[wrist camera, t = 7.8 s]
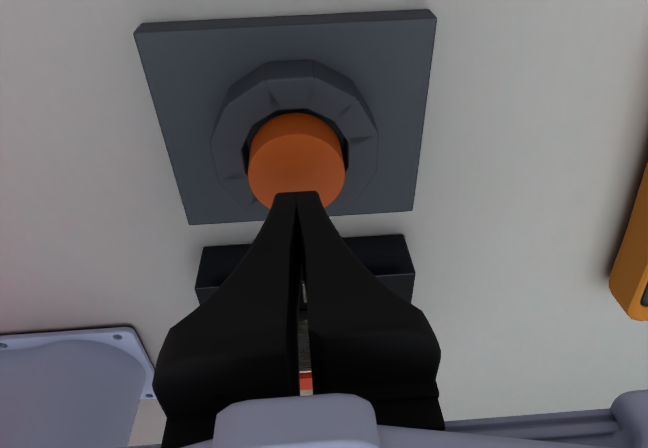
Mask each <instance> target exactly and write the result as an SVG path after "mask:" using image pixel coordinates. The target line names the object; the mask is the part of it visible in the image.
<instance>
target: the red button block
mask: <svg viewBox="0 0 648 448" xmlns="http://www.w3.org/2000/svg"><path fill="white" fill-rule="evenodd" d="M298 347H299V374H300V396H307V395H313V386H312V372H311V360H310V348H309V336H308V312H307V311H299V316H298Z"/></svg>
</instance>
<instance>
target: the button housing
mask: <svg viewBox="0 0 648 448" xmlns="http://www.w3.org/2000/svg"><path fill="white" fill-rule="evenodd" d="M436 23H437V17H436V16H435V15H434V14H433V13H432V12H431V11H430V10H428V9H424V10H404V11H383V12H363V13H342V14H322V15H302V16H281V17H261V18H240V19H220V20H199V21H179V22H159V23H142V24H140V26H139V27H138V28H137V29H136V30H135V31H134V33H133V35H134V38H135V41H136V45H137V48H138V52H139V55H140V59H141V62H142V65H143V69H144V72H145V76H146V79H147V82H148V86H149V89H150V93H151V96H152V100H153V103H154V106H155V110H156V113H157V117H158V120H159V124H160V127H161V130H162V134H163V137H164V141H165V144H166V148H167V151H168V154H169V158H170V161H171V165H172V168H173V172H174V175H175V178H176V182H177V185H178V189H179V192H180V196H181V199H182V202H183V206H184V209H185V213H186V216H187V219H188V223H189V225H200V224H216V223H232V222H247V221H263V220H266V218H267V216H268V213H269V211H270V209H269V208H268V207H266V206H265V205H263V204H262V203H261V202H260V201H259V200H258V199H257V198H256V196H255V195H254V194H253V192H252V190H251V188H250V185H249V181H248V166H249V158H250V150H251V144H252V141H253V138H254V136H255V134H256V132H257V131H258V130H259V128H260V127H261V126H262V125H263V124H264V123H266V122H267V121H269V120H270V119H272V118H274V117H276V116H279V115H282V114H286V113H305V114H309V115H312V116H315V117H317V118H319V119H321V120H323V121H324V122H325V123H327V124H328V125H329V126H330V127H331V128H332V129H333V131H334V132H335V133H336V135H337V137H338V140H339V142H340V147H341V152H342V157H343V162H344V168H345V180H344V185H343V187H342V190H341V191H340V193H339V195H338V196H337V197H336V199H335V200H334V201H333V202H332V203H330V204H329V205H328V206H327V207H325V208H324V209H325V211H326V213H327V215H328V217H329V216H341V215H357V214H372V213H388V212H403V211H412V210H413V204H414V196H415V188H416V180H417V172H418V165H419V157H420V149H421V141H422V133H423V125H424V117H425V109H426V102H427V94H428V86H429V78H430V70H431V62H432V54H433V46H434V39H435V31H436Z"/></svg>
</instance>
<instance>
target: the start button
mask: <svg viewBox="0 0 648 448" xmlns="http://www.w3.org/2000/svg"><path fill="white" fill-rule="evenodd" d="M344 180H345V168H344V162H343V157H342V152H341V147H340V142H339V140H338V137H337V135H336V133H335V132H334V131H333V129H332V128H331V127H330V126H329V125H328V124H327V123H325V122H324V121H323V120H321V119H319V118H317V117H315V116H312V115H309V114H305V113H286V114H282V115H279V116H276V117H274V118H272V119H270V120H269V121H267V122H266V123H264V124H263V125H262V126H261V127H260V128H259V130H258V131H257V132H256V134H255V136H254V138H253V141H252V144H251V150H250V158H249V166H248V181H249V185H250V188H251V190H252V192H253V194H254V195H255V196H256V198H257V199H258V200H259V201H260V202H261V203H262V204H263V205H265V206H266V207H268V208H269V209H271V206H272V203H273V200H274V197H275V195H276V194H277V193H283V192H299V191H317V192H318V193H319V196H320V199H321V202H322V205H323V207H324V208H325V207H327V206H328V205H329V204H330V203H332V202H333V201H334V200H335V199H336V197H337V196H338V195H339V193H340V191H341V190H342V187H343V185H344Z"/></svg>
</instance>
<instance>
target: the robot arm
mask: <svg viewBox="0 0 648 448" xmlns="http://www.w3.org/2000/svg"><path fill="white" fill-rule="evenodd" d="M301 269H302V270H303V276H304V283H305V289H306V296H307V312H308V336H309V348H310V360H311V372H312V386H313V395H307V396H300V374H299V347H298V316H299V301H300V285H301ZM440 359H441V350H440V347H439V343H438V341H437V338H436V336H435V334H434V332H433V330H432V328H431V326H430V324H429V322H428V320H427V319H426V317H425V315H424V314H423V312H422V311H421V310H420V309H418V308H417V307H415V306H413V305H412V304H410V303H409V302H407V301H406V300H404V299H403V298H401V297H400V296H398V295H397V294H396V293H394V292H393V291H392V290H391V289H389V288H388V287H387V286H386V285H385V284H384V283H382V282H381V281H380V280H379V279H378V278H377V277H376V276H375V275H373V274H372V273H371V272H370V271H369V270H368V269H367V268H366V267H365V266H364V265H363V264H362V262H361V261H360V260H359V259H358V258H357V257H356V256H355V255H354V253H353V252H352V251H351V250H350V248H349V247H348V246H347V244H346V243H345V242H344V240H343V239H342V238H341V236H340V235H339V233H338V232H337V230H336V228H335V227H334V225H333V224H332V222H331V220H330V218H329V217H328V215H327V213H326V211H325V209H324V207H323V205H322V202H321V199H320V196H319V193H318V192H317V191H299V192H283V193H277V194H276V195H275V197H274V200H273V203H272V206H271V209H270V211H269V213H268V216H267V218H266V220H265V222H264V224H263V226H262V228H261V230H260V232H259V233H258V235H257V237H256V239H255V240H254V242H253V243H252V245H251V247H250V248H249V250H248V251H247V253H246V254H245V256H244V257H243V259H242V260H241V261H240V263H239V264H238V265H237V267H236V268H235V269H234V271H233V272H232V273H231V274H230V275H229V276H228V278H227V279H226V280H225V281H224V282H223V283H222V284H221V286H220V287H219V288H218V289H217V290H216V291H215V292H214V293H213V294H212V295H211V296H209V297H208V298H207V299H206V300H205V301H204V302H203V303H202V304H201V305H200V306H199V307H198V308H197V309H195V310H194V311H193V312H192V313H190V314H189V315H188V316H187V317H185V318H184V319H183V320H181V321H180V322H179V323H177V324H176V325H175V326H173V327H172V328H170V330H169V332H168V334H167V336H166V339H165V341H164V343H163V346H162V348H161V351H160V353H159V356H158V360H157V364H156V368H155V370H154V368H153V366H152V364H151V362H150V360H149V358H148V356H147V354H146V352H145V350H144V348H143V346H142V344H141V342H140V340H139V338H138V336H137V334H136V332H135V330H134V329H132V328H130V327H117V328H102V329H88V330H74V331H60V332H46V333H32V334H18V335H4V336H0V448H648V390H636V391H629V392H626V393H623V394H621V395H619V396H618V397H617V398H616V399H615V400H614V402H613V404H612V406H611V408H610V409H597V410H584V411H572V412H559V413H546V414H534V415H521V416H508V417H496V418H483V419H471V420H458V421H445V422H444V419H443V416H442V412H441V409H440V405H439V401H438V397H439V390H438V387H437V383H436V376H437V372H438V367H439V363H440ZM155 398H157V400H158V402H159V403H160V405H161V407H162V409H163V411H164V413H165V415H166V417H167V421H166V426H165V431H164V435H163V440H162V444H155V445H142V446H129V447H127V446H128V442H129V438H130V435H131V431H132V427H133V423H134V420H135V416H136V412H137V409H138V405H139V401H140V400H142V399H155Z"/></svg>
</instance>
